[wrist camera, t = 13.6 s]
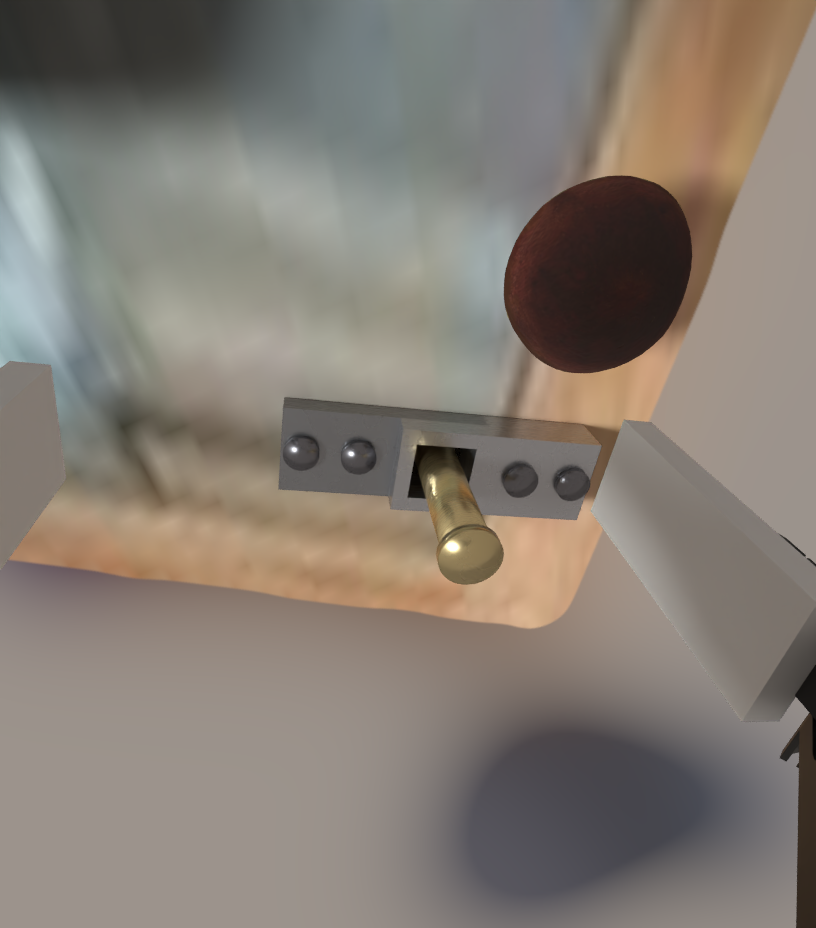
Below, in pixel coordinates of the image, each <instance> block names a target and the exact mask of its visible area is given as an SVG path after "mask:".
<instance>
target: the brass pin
mask: <svg viewBox="0 0 816 928" xmlns="http://www.w3.org/2000/svg"><path fill="white" fill-rule="evenodd" d="M414 459H415V462H416V466H417V469H418V473H419V476H420V480H421V483H422V487H423V490H424V494H425V497H426V501H427V504H428V507H429V511H430V514H431V518H432V521H433V525H434V528H435V532H436V535H437V539H438V542H439V545H438V547H437V552H436V557H437V561H438V565H439V568H440V571H441V573H442V574H443V575H444V576H445V577H446V578H447V579H448V580H450V581H452V582H454V583H458V584H475V583H479V582H482V581H484V580H486V579H488V578H489V577H491V576H492V575H493V574H494V573H495V572H496V571H497V570H498V569H499V567H500V565H501V564H502V561H503V556H504V552H503V547H502V545H501V543H500V540H499V538H498V536H497V535H496V533H495V532H494V531H493V530H491V529H490V528H488V527H487V526H486V523H485V521H484V519H483V516H482V514H481V511H480V509H479V507H478V504H477V502H476V500H475V497H474V495H473V493H472V490H471V488H470V486H469V483H468V481H467V478H466V476H465V474H464V471H463V469H462V467H461V464H460V462H459V460H458V457H457V455H456V452H455V450H454V448H453V447H442V446H430V445H417V446H416V452H415V457H414Z"/></svg>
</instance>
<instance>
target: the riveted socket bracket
mask: <svg viewBox="0 0 816 928" xmlns="http://www.w3.org/2000/svg"><path fill="white" fill-rule="evenodd" d="M417 445H430V446H442V447H455V448H461V453H460V458H459V462H460V464H461V467H462V469H463V471H464V474H465V476H466V478H467V481H468V483H469V486H470V488H471V490H472V493H473V495H474V497H475V500H476V502H477V504H478V507H479V509H480V511H481V514H482V515H497V516H514V517H531V518H549V519H566V520H577V518H578V515H579V512H580V509H581V506H582V503H583V500H584V497H585V494H586V493H587V492H588V490H589V488H590V479H591V476H592V474H593V471H594V468H595V465H596V462H597V459H598V456H599V453H600V450H601V447H602V445H601V444H600V443H599V442H598V441H597V440H596V439H595V437H594V436H593V435H592V434H591V433H590V432H589V431H588V430H587V429H586V427H585V426H584V425H582V424H571V423H560V422H549V421H538V420H527V419H516V418H505V417H494V416H483V415H472V414H461V413H450V412H439V411H428V410H417V409H406V408H395V407H384V406H373V405H362V404H350V403H339V402H328V401H317V400H306V399H295V398H284V405H283V419H282V437H281V454H280V472H279V489H282V490H298V491H314V492H330V493H346V494H362V495H378V496H388V498H389V503H390V509H395V510H412V511H429V507H428V504H427V501H426V497H425V494H424V490H423V487H422V483H421V480H420V476H419V474H412V468H413V463H414V457H415V452H416V446H417ZM429 512H430V511H429Z"/></svg>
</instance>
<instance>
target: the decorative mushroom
mask: <svg viewBox="0 0 816 928" xmlns="http://www.w3.org/2000/svg"><path fill="white" fill-rule="evenodd" d="M691 261H692V245H691V237H690V231H689V228H688V225H687V221H686V218H685V216H684V213H683V211H682V209H681V207H680V205H679V204H678V202H677V201H676V199H675V198H674V197H673V196H672V195H671V194H670V193H669V192H668V191H667V190H665V189H664V188H663V187H661V186H660V185H658V184H656V183H654V182H651V181H648V180H645V179H641V178H637V177H632V176H607V177H602V178H597V179H593V180H590V181H587V182H584V183H581V184H578V185H576V186H573V187H571V188H569V189H566V190H564V191H562V192H561V193H559V194H558V195H556V196H555V197H554V198H552V199H551V200H549V201H548V202H547V203H546V204H544V205H543V206H542V207H541V208H540V209H539V210H538V212H537V213H536V214H535V215H534V216H533V217H532V218H531V219H530V221H529V222H528V223H527V225H526V226H525V227H524V229H523V230H522V232H521V233H520V235H519V237H518V239H517V240H516V243H515V245H514V247H513V250H512V252H511V255H510V257H509V260H508V264H507V267H506V272H505V280H504V302H505V308H506V312H507V316H508V318H509V320H510V322H511V325H512V327H513V329H514V331H515V332H516V334H517V335H518V337H519V338H520V340H521V341H522V343H523V344H524V345H525V346H526V347H527V349H528V350H529V351H530V352H531V353H532V354H533V355H534V356H535V357H536V358H538V359H539V360H540V361H542V362H543V363H545V364H547V365H549V366H551V367H553V368H555V369H558V370H561V371H564V372H571V373H593V372H599V371H604V370H608V369H611V368H615V367H618V366H620V365H622V364H625V363H627V362H629V361H631V360H633V359H634V358H636V357H638V356H640V355H641V354H643V353H644V352H645V351H646V350H648V349H649V348H650V347H652V346H653V345H654V344H655V343H656V342H657V341H658V340H659V339H660V338H661V337H662V336H663V335H664V334H665V332H666V331H667V329H668V328H669V326H670V325H671V323H672V321H673V319H674V318H675V316H676V314H677V312H678V309H679V307H680V305H681V303H682V300H683V297H684V294H685V291H686V288H687V284H688V280H689V276H690V271H691Z"/></svg>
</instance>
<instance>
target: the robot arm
mask: <svg viewBox="0 0 816 928" xmlns="http://www.w3.org/2000/svg"><path fill="white" fill-rule="evenodd" d="M65 480H66V474H65V466H64V459H63V451H62V444H61V436H60V429H59V422H58V414H57V407H56V399H55V392H54V385H53V377H52V370H51V365H46V364H35V363H25V362H14V361H9V362H8V363H7V364H6V365H4V366H3V367H2V368H0V570H1V569H2V567H3V566H4V565H5V563H6V562H7V561H8V559H9V558H10V556H11V555H12V554H13V552H14V551H15V549H16V548H17V547H18V545H19V544H20V542H21V541H22V540H23V538H24V537H25V535H26V534H27V533H28V531H29V530H30V528H31V527H32V526H33V524H34V523H35V521H36V520H37V519H38V517H39V516H40V514H41V513H42V512H43V510H44V509H45V508H46V506H47V505H48V503H49V502H50V501H51V499H52V498H53V496H54V495H55V494H56V492H57V491H58V489H59V488H60V487H61V485H62V484H63V482H64V481H65ZM591 512H592V514H593V515H594V516H595V518H596V519H597V521H598V522H599V523H600V525H601V526H602V528H603V529H604V530H605V532H606V533H607V534H608V536H609V537H610V539H611V540H612V542H613V543H614V544H615V546H616V547H617V549H618V550H619V551H620V553H621V554H622V556H623V557H624V558H625V560H626V561H627V562H628V564H629V565H630V566H631V568H632V569H633V571H634V572H635V574H636V575H637V576H638V578H639V579H640V581H641V582H642V583H643V585H644V586H645V588H646V589H647V590H648V592H649V593H650V594H651V596H652V597H653V599H654V600H655V602H656V603H657V604H658V606H659V607H660V608H661V609H662V611H663V613H664V614H665V616H666V617H667V618H668V620H669V621H670V622H671V624H672V625H673V627H674V628H675V629H676V631H677V632H678V634H679V635H680V636H681V638H682V639H683V641H684V642H685V643H686V645H687V646H688V648H689V649H690V650H691V652H692V653H693V654H694V656H695V657H696V659H697V660H698V662H699V663H700V664H701V666H702V667H703V669H704V670H705V671H706V673H707V674H708V676H709V677H710V678H711V680H712V681H713V682H714V684H715V685H716V686H717V688H718V689H719V691H720V692H721V694H722V695H723V696H724V698H725V699H726V701H727V702H728V703H729V705H730V706H731V708H732V709H733V710H734V712H735V713H736V715H737V716H738V717H739V719H740V720H741V721H742V722H764V721H766V722H768V721H780V719H781V718H782V716H783V715H784V713H785V712H786V710H787V709H788V707H789V706H790V704H791V703H792V702H793V700H794V699H795V697H797V698H798V700H799V701H800V702H801V703H802V704H803V705H804V707H805V708H806V709H807V710H808V711H809V712H810V713H809V714H808V716H807V717H806V718H805V720H804V721H803V722H802V724H801V725H800V727H799V728H798V730H797V731H796V732H795V734H794V735H793V737H792V738H791V739H790V741H789V742H788V744H787V745H786V747H785V748H784V749H783V751H782V753H781V756H780V758H781V759H783V760H785V761H787V760H788V759H789V757H790V756H791V755H792V754H793V753H798V752H799V763H798V764H797V766H796V767H798V768H799V796H798V857H797V858H798V859H797V919H796V923H797V924H796V928H816V564H815V563H814V562H813V561H812V560H811V559H809V558H806V557H805V556H806V555H805V554H804V553H803V552H801V551H800V550H799V549H798V548H797V547H795V546H794V545H793V544H792V543H791V542H790V541H789V540H788V539H786V538H785V537H783V536H782V535H780V534H778V533H777V532H776V531H774V530H773V529H772V528H771V527H770V526H769V525H768V524H767V523H765V522H764V521H763V520H762V519H761V518H760V517H759V516H757V515H756V514H755V513H754V512H753V511H752V510H751V509H749V508H748V507H747V506H746V505H745V504H744V503H742V502H741V501H740V500H739V499H738V498H737V497H735V495H734V494H732V493H731V492H730V491H729V490H728V489H727V488H726V487H724V486H723V485H722V484H721V483H720V482H719V481H717V480H716V479H715V478H714V477H713V476H712V475H711V474H709V473H708V472H707V471H706V470H705V469H704V468H703V467H702V466H700V465H699V464H698V463H697V462H696V461H695V460H694V459H692V458H691V457H690V456H689V455H688V454H687V453H685V451H683V450H682V449H681V448H680V447H679V446H678V445H676V444H675V443H674V442H673V441H672V440H671V439H670V438H669V437H667V436H666V435H665V434H664V433H663V432H662V431H661V430H659V429H658V428H657V427H656V426H655V425H654V424H652V423H651V422H642V421H632V420H624V421H623V423H622V426H621V429H620V432H619V434H618V437H617V440H616V443H615V445H614V448H613V451H612V454H611V456H610V459H609V462H608V465H607V467H606V470H605V473H604V476H603V478H602V481H601V484H600V487H599V489H598V492H597V495H596V498H595V500H594V503H593V506H592V509H591Z"/></svg>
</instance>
